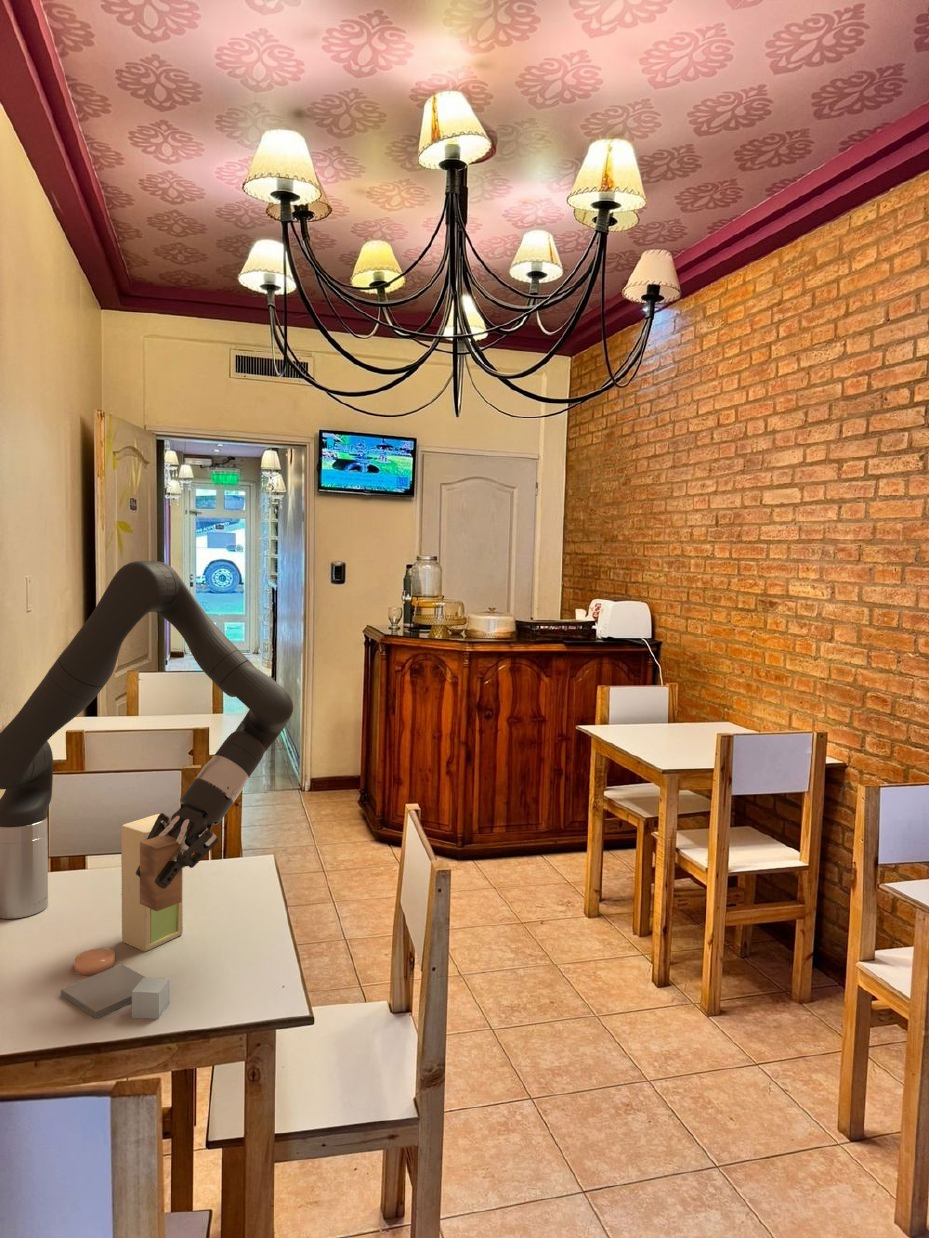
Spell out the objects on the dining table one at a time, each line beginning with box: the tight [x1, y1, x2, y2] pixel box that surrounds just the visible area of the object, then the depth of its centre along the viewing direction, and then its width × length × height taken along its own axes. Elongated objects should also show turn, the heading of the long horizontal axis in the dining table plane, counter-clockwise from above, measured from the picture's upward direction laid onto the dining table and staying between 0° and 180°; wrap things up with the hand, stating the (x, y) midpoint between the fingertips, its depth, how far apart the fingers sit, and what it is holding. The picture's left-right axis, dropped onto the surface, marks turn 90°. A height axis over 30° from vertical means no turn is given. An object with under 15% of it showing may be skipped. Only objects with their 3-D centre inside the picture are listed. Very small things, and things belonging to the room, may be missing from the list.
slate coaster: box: [60, 963, 147, 1019], centre depth 124 cm, size 10×10×1 cm
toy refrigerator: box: [120, 813, 184, 952], centre depth 141 cm, size 8×7×21 cm
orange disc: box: [73, 947, 115, 976], centre depth 132 cm, size 6×6×2 cm
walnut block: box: [140, 835, 182, 912], centre depth 128 cm, size 4×4×10 cm
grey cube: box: [131, 977, 171, 1019], centre depth 120 cm, size 4×4×4 cm
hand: (150, 881), depth 126 cm, fingers closed on walnut block, 4 cm apart
